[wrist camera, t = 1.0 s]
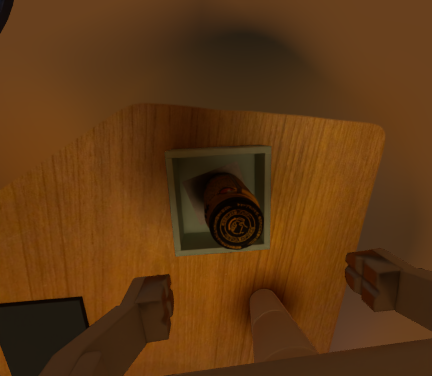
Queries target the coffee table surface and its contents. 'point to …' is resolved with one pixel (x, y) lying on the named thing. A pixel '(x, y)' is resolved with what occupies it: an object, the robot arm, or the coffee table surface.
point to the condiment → (226, 206)
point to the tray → (202, 163)
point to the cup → (275, 330)
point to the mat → (38, 331)
